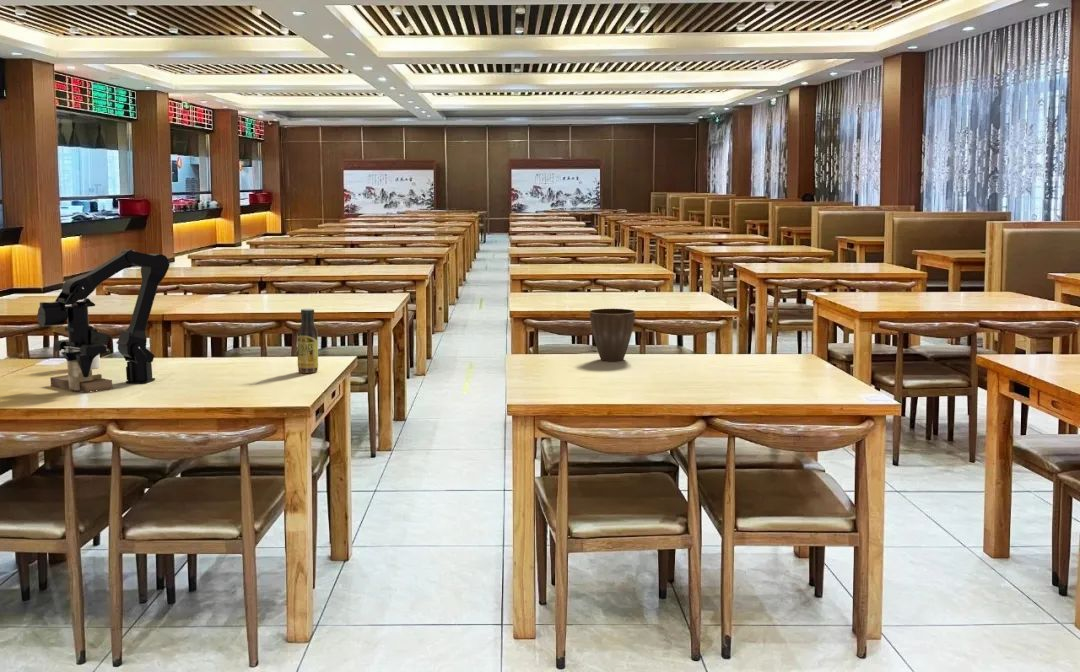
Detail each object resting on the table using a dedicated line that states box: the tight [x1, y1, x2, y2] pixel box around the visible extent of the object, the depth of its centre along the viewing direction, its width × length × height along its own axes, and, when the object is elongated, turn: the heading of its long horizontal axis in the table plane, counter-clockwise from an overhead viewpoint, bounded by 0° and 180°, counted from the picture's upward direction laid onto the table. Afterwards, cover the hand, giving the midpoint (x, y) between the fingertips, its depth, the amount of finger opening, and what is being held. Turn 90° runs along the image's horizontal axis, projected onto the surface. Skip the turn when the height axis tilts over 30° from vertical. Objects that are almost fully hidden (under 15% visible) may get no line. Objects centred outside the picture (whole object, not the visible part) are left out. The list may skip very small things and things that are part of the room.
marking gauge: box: [66, 360, 103, 391], centre depth 316 cm, size 4×9×8 cm, turn 142°
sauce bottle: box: [297, 308, 319, 374], centre depth 339 cm, size 6×6×20 cm
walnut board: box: [49, 374, 113, 393], centre depth 320 cm, size 20×8×3 cm, turn 52°
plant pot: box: [589, 308, 636, 362], centre depth 354 cm, size 15×15×16 cm
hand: (82, 376), depth 315 cm, fingers closed on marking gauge, 4 cm apart
